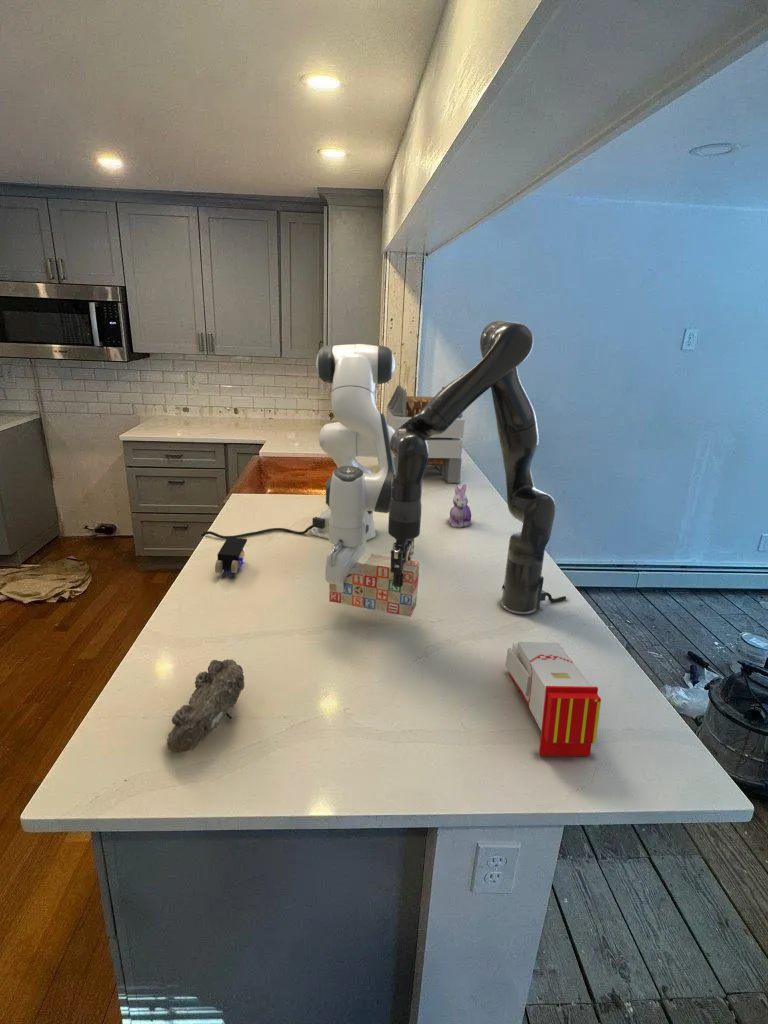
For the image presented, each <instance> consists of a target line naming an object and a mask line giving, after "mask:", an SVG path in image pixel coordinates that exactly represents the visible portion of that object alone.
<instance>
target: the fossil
mask: <svg viewBox="0 0 768 1024" xmlns="http://www.w3.org/2000/svg"><path fill="white" fill-rule="evenodd" d="M243 670H244V669H243V667H242V665H240V664H237V662H236V661H235V660H234V659H232V658H231V659H227V658H226V659H224V660H223V661H222V660H217V659H212V660H211V661H210V663H209V665H208V666H207V671H201V672H199V673H198V674H197V675H196V676H195V680H194V684H195V685H194V687H195V689H194V690H193V693H192V694H191V697H190V698H189V700H188V704H184V705H182V706H181V707H180V709H177V710H176V711H175V713H174V715H173V716H172V718H171V723H172V724H173V727H172V730H171V731H170V732H168V734H167V738H166V741H167V742H166V745H167V749H168V750H169V751H173V752H174V753H176V754H178V753H182V752H188V751H189V752H192V751H193V750H195V748H196V747H197V746H199V744H200V743H201V742H203V741H204V740H205V739H206V738H207V737H208V736H209V735H210V734H211V733H212V732H214V730H215V729H217V727H218V726H219V724H220V722H221V721H222V720H223V719H224V718H225V716H226V717H227V719H229V720H233V717H232V715H230V714H229V710H230V709H231V708H234V706H235V704H236V703H237V702H238V699H239V697H240V695H241V693H242V691H243V690H245V689H244V688H245V675H244V671H243Z"/></svg>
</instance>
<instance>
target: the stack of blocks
mask: <svg viewBox="0 0 768 1024" xmlns="http://www.w3.org/2000/svg"><path fill="white" fill-rule="evenodd" d="M402 560H404V559H403V558H402ZM396 567H399V566H398V565H396ZM419 572H420V561H417V560H412V559H411V560H407V563H406V564H405V566H404V572H403V585H402V587H397V586H394V585H393V576H394V573H392V572H391V556H389V555H381V554H373V553H371V554H370V555H369V557H368V559H367V560H366V561H365V563H360V562H357V563H356V564H355V565H354V567H353V568H352V569H351V570H350V572H349V573H348V575H347V576H346V577H345V578H344V584H345V590H344V591H343V592H342V593H340V592H337V591H336V584H331V583H328V588H329V589H328V590H329V593H328V594H329V595H328V597H329V598H328V600H329V602H330V603H336V604H341V605H344V606H352V607H355V608H361V609H366V610H367V609H368V610H372V611H377V612H382V613H388V614H392V615H399V616H402V617H409V618H411V617H412V616H413V613H414V611H415V609H416V607H417V602H418V601H417V600H418V589H419V588H418V586H419V575H420V573H419Z"/></svg>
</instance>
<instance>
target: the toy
mask: <svg viewBox="0 0 768 1024" xmlns="http://www.w3.org/2000/svg"><path fill="white" fill-rule="evenodd" d="M511 646H512V647H508V648H507V653H506V658H505V659H506V660H505V668H506V669H507V671H508V675H509V676H510V677H511V679H512V681H513V682H514V684H515V686H516V688H517V689H518V691H519V693H520V694H521V696H522V698H523V700H524V702H525V703H526V705H527V706H528V708H529V710H530V712H531V715H532V716H533V718H534V720H535V722H536V723H537V724H536V725H537V726H538V727H539V730H540V731H541V733H540V739H539V740H540V741H539V749H538V751H539V752H538V754H539V756H543V757H548V756H550V757H551V756H552V757H553V756H554V757H568V756H569V757H591V751H592V744H596V743H597V734H598V726H599V717H600V710H601V702H602V698H601V697H600V696H599V694H598V693H599V688H598V686H592V684H590V682H589V681H588V680H587V678H586V677H585V676H584V675H583V673H582V672H581V671H580V669H579V668H578V667H577V665H576V664H575V663H574V661H573V660H572V659H571V658H570V656H569V655H568V654H567V652H566V651H565V649H564V647H562V645H561V644H560V643H559V642H553V641H551V642H549V641H548V642H547V641H546V642H545V641H517V642H512V645H511Z"/></svg>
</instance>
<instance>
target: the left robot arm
mask: <svg viewBox="0 0 768 1024" xmlns="http://www.w3.org/2000/svg"><path fill="white" fill-rule="evenodd" d="M395 360H396V359H395V357H394V354H393V351H392V350H391V348H390V347H388V346H385V345H373V344H365V343H355V344H338V345H334V344H327V345H323V346H322V347H321V348H319V350H318V353H317V356H316V360H315V369H316V372H317V374H318V377H319V379H320V380H321V381H322V382H324V383H328V384H331V411H332V415H333V416H334V418H335V419H336V422H330V423H325V424H324V425H323V426H322V427H321V429H320V431H319V434H318V442H319V446H320V448H321V450H322V451H323V452H324V453H325V454H327V455H328V456H329V457H330V459H332V461H333V462H334V464H335V465H336V467H337V468H335V469H334V470H333V471H332V475H331V476H330V477H329V478H328V479H327V480H326V482H325V504H326V505H327V507H328V508H326V509H325V510H323V512H321V514H320V515H319V517H318V516H314V517H312V522H311V523H312V524H311V525H310V526H308V527H307V528H305V529H304V530H302V531H296V530H292V529H290V528H289V529H288V528H286V527H285V528H284V527H272V528H265V529H262V530H257V531H252V532H246V533H241V534H236V535H235V534H234V535H222V534H218V533H217V532H215V531H211V530H207V531H204V532H203V533H202V534H200V537H205V536H207V535H212V536H214V537H215V538H219V539H224V540H226V539H227V538H244V537H245V538H246V537H250V536H256V535H260V534H265V533H270V532H286V533H291V534H295V535H305V534H307V533H308V532H309V531H310V533H311V536H315V537H319V538H323V539H326V540H328V541H329V543H330V544H332V545H333V547H332V548H331V549H330V550H329V552H328V553H327V556H326V560H325V574H324V575H325V577H324V578H325V579H324V580H325V582H326V583H328V584H329V583H331V584H336V591H337V592H340V593H342V592H343V591H344V590H345V584H344V578H345V577H346V576H347V575H348V573H349V572H350V570H351V569H352V568H353V567H354V565H355V564H356V563H359V561H360V560H361V559H362V557H363V556H364V555H365V552H366V548H367V542H368V540H372V539H373V538H375V537H376V535H377V532H376V528H375V523H374V513H373V512H375V513H382V514H389V505H390V499H391V482H392V477H393V474H394V473H396V472H395V467H394V460H393V454H392V452H391V450H390V440H391V437H392V436H393V434H394V433H395V431H394V429H393V428H392V427H390V426H389V425H387V421H386V415H385V414H384V413H382V412H380V411H379V410H378V408H377V401H376V400H377V399H376V384H377V385H383V384H386V383H388V382H389V381H391V380H392V377H393V375H394V373H395V370H396V361H395ZM357 457H364V458H376V459H377V463H378V470H379V471H378V472H372V471H371V469H369V468H368V467H366V466H365V465H363V464H362V463H360V462H359V461H358V460H357Z"/></svg>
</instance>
